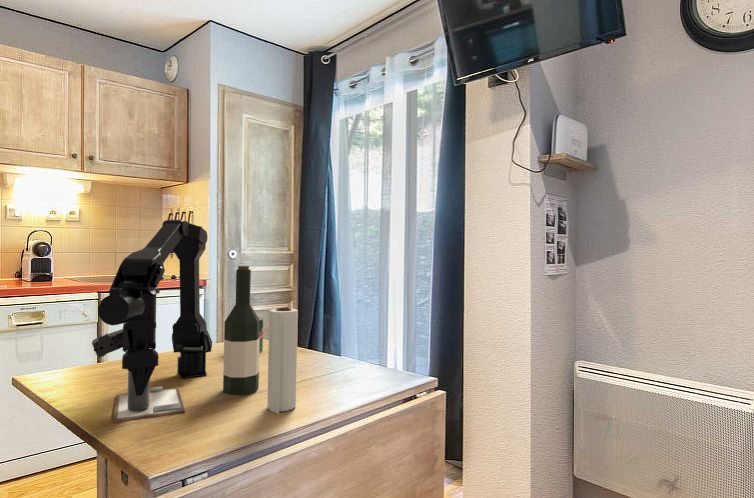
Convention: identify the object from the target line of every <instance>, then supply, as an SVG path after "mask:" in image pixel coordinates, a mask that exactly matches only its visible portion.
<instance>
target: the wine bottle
mask: <svg viewBox="0 0 754 498" xmlns="http://www.w3.org/2000/svg"><path fill="white" fill-rule="evenodd" d="M237 267H238V268H237V269H236V273H235V275H236V278H235V304H234V306H233V307H232V309H231V310H230V313H229V314H228V316H227V317H226V319H225V320H224V332H223V333H224V335H223V337H224V338H223V380H222V382H223V383H222V392H223V393H224V394H225V395H228V396H247V395H250V394H255V393H257V391H258V389H259V384H260V383H259V382H260V377H259V376H260V374H259V373H260V353H259V343H260V320H259V318H258V317H259V316H258V315H257V313H256V311H255V310H254V308H253V306H252V304H251V284H252V283H251V277H252V276H251V275H252V274H251V273H252V269H250V266H249V265H238V266H237Z"/></svg>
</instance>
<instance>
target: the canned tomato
mask: <svg viewBox="0 0 754 498" xmlns="http://www.w3.org/2000/svg"><path fill="white" fill-rule="evenodd" d="M258 318H259V320H260V343H259V354H261V353H263V349H264V344H263V343H264V317H262V316H261V317H260V316H258Z"/></svg>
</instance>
